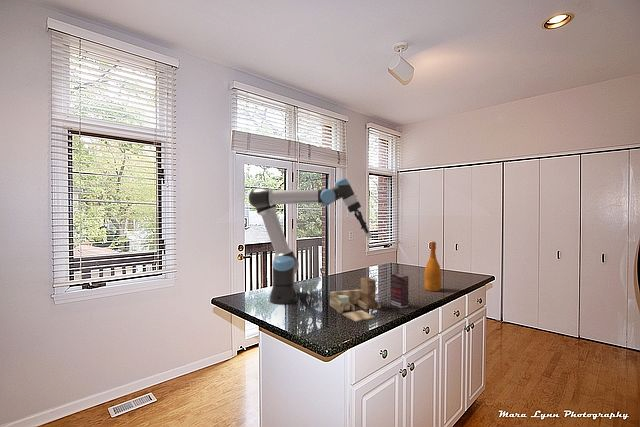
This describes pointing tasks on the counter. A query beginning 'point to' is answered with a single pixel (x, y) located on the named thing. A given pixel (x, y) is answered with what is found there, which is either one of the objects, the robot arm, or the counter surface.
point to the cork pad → (358, 315)
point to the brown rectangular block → (368, 292)
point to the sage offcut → (343, 298)
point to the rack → (353, 299)
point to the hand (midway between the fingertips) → (369, 236)
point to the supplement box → (399, 290)
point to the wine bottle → (432, 271)
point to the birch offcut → (346, 306)
